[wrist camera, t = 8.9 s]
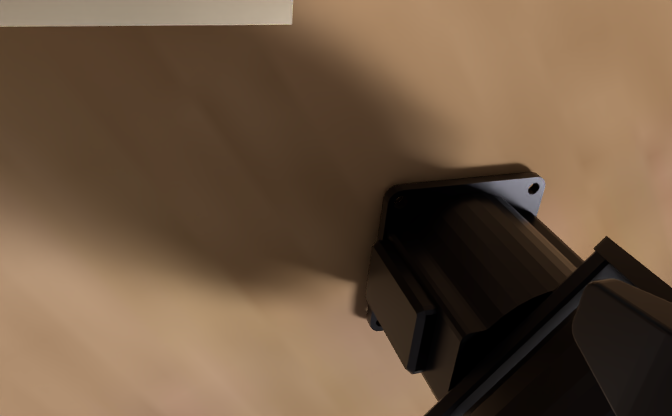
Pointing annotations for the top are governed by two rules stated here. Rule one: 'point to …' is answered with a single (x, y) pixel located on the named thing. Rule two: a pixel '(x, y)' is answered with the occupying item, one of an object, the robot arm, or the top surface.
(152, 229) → the top surface
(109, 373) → the top surface
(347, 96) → the top surface
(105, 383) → the top surface
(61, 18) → the beige patterned block
